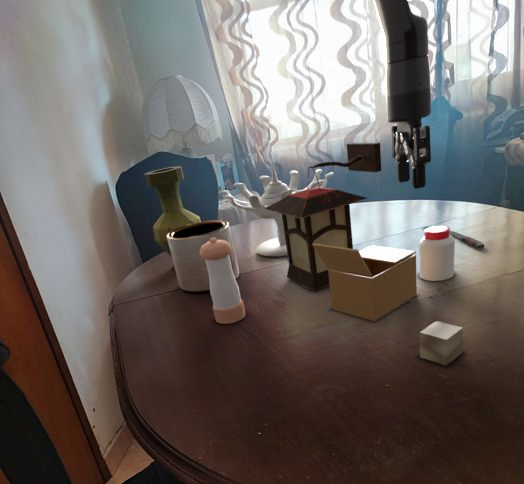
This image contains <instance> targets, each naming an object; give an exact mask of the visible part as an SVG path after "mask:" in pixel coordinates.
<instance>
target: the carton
mask: <svg viewBox="0 0 524 484" xmlns="http://www.w3.org/2000/svg"><path fill="white" fill-rule="evenodd" d="M358 251H359V253H360V255H361V256H362V258H363V260H364V262H365V263H366V265H367V267H368V269H369V270H370V272H371V274H372V275H371V276H367V275H362V274H357V273H352V272H347V271H342V270H337V269H332V268H331V269H329V270H328V274H329V283H330V286H329V291H330V301H331V309H332V310H333V311H336V312H341V313H344V314H347V315H352V316H354V317H358V318H362V319H366V320H369V321H373V322H376V321H378V320H379V319H382V318H383V317H384V316H385V315H388V314H389V313H390V312H392V311H393V310H395V309H397V308H398V307H400V306H401V305H404V304H405V303H406V302H408V301H410V300H411V299H413V298H415V297H416V296H417V294H418V293H417V291H418V290H417V254H416V252H417V251H416V250H410V249H403V248H402V249H401V248H396V247H395V248H394V247H388V246H380V245H372V244H371V245H368V246H367V247H365V248H362V249H361V250H358Z"/></svg>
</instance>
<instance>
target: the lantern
mask: <svg viewBox="0 0 524 484" xmlns="http://www.w3.org/2000/svg"><path fill="white" fill-rule="evenodd" d="M381 151H382V150H381V142H350V143H347V144H346V153H347V161H346V162H341V161H325V162H318V163H316V164H314V165H310V166H309V167H308V169H307V177H309V174H310V169H312V171H313V173H314V176H315V175H316V173H315V171H316V170H315V168H323V167H331V166H333V167H334V166H338V167H339V168H347V169H348V171H352V172H364V173H365V172H366V173H379V172H382V154H381V153H382V152H381ZM316 178H317V176H316ZM317 181H318V179H317ZM318 185H319V187H314V188H310V189H308V186H309V184H307V186H306V187H307V189H306V190H304V189H302V190H303V191H300V192H297V193H294V194H291V195H288V196H287V197H285V198H283V199H281V200H279V201H278V202H276V203H274V204H272V205H270V206H268V207H267V208H265V209H266V210H270V211H274V212H278V213H281V214H282V221H283V227H284V234H285V241H286V248H287V254H288V255H287V259H288V260H287V261H288V266H287V267H288V268H287V274H286V278H287V279H289V280H291V281H293V282H294V283H296V284H299V285H301V286H302V287H304V288H307V289H309V290H311V291H312V292H318V291H321V290H323V289H326V288H328V287H329V288H330V283H329V274H328V270H329V269H331V268H327V267H326V265H325V263H324V262H323V260H322V259H321V257H320V256H319V254H318V253H317V251H316V250H315V248H314V247H313V245H312V244H313V243H315V244H322V245H329V246H336V247H342V248H349V249H354V245H353V234H352V233H353V232H352V218H351V207H350V205H352V204H354V203H358V202H361V201H364V200H367V199H369V197H366V196H362V195H358V194H354V193H350V192H348V191H345V190H344V191H343V190H341V189H336V188H329V187H325V188H322V187H320V186H321V185H320V184H319V182H318Z"/></svg>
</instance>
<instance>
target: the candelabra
mask: <svg viewBox="0 0 524 484" xmlns="http://www.w3.org/2000/svg"><path fill="white" fill-rule="evenodd" d="M314 171H315V173H316V175H315V173H314V177H313V180H312V181H311V182H310V183H309V184H308V189H310V188H314V187H319V186H320V187H322V188H327V184H328V179H329V178H331V177H332V176H333V175H334V172H333V171H331V172H328V173H326V174H325V175H324V179H321V174H322V173H323V169H322V168H318V169H316V170H314ZM276 172H277V171H276V169H275V165H274V162H271V176H268V175H261V176H259V177H258V178H259V180H261V181H262V186H263V191H264V193H263V194H262V195H261V196H259V195H258V194H252V192H250V191H249V190H248V188H247V187H246V184H245V183H244V182H235V183H234V184H232V186H233V187H235V188H238V191H239V193H240V194H241V196H243V197H244V198H245V199H246V200H247V201H244V200H240V199H237V198H235V197H234V196H233V195H232V194H231V193H230V190H229V189H224V190H220V191H219V194H221V195H225V196H224V198H225V199H227V200H228V201H229V203H230V204H231V205H232V206H233V207H236V208H238V209H241V210H245V211H248V212H251V213H253V214H254V216H255V217H256V219H262V220H274V223H275V224H276V227H277V237H274V238H271V239H268V240H266V241H263V242H262V243H260V244H259V245H258V246H257V247H256V250H255V251H256V253H257V254H258V255H260V256H263V257H272V258H273V257H284V256H288V254H287V248H286V241H285V234H284V227H283V221H282V214H281V213H278V212H274V211H270V210H266V209H265V208H267V207H268V206H270V205H272V204H274V203H276V202H278V201H279V200H281V199H283V198H285V197H287V196H288V195H291V194H294V193H297V192H300V191H303V190H306V189H307V186H306V187H305V188H304V189H298V187H299V184H300V173H299V171H297V170H291V171H289V174H290V182H289V185H287V184H286V183H284V182H282V181H281V180H278V176H277V173H276ZM316 176H317V178H316ZM317 179H318V181H317ZM318 182H319V185H318Z"/></svg>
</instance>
